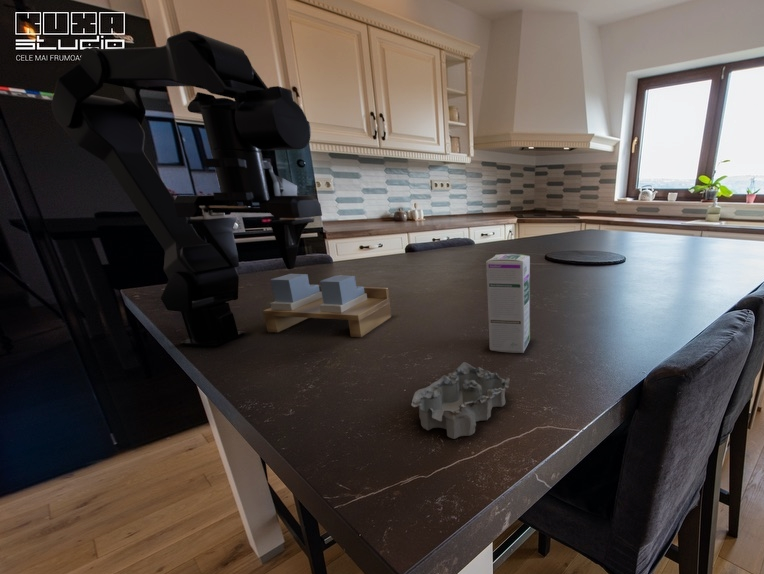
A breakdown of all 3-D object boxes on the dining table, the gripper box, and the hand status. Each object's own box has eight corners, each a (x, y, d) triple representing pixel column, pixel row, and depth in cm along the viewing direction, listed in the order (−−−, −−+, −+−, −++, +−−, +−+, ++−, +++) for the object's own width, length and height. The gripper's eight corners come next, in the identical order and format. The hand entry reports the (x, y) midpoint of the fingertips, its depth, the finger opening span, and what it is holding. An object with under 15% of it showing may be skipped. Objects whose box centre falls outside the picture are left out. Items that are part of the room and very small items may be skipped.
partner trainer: (291, 310, 69) (285, 281, 68) (271, 309, 70) (264, 280, 68) (323, 297, 78) (318, 271, 76) (304, 296, 78) (299, 270, 77)
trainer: (341, 312, 68) (336, 283, 66) (320, 311, 69) (314, 282, 67) (367, 299, 77) (363, 272, 75) (348, 298, 77) (344, 272, 75)
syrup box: (524, 354, 61) (525, 260, 56) (487, 351, 62) (485, 258, 57) (530, 341, 67) (531, 254, 61) (496, 338, 68) (494, 253, 62)
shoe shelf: (267, 332, 71) (260, 299, 69) (309, 312, 82) (304, 284, 80) (361, 337, 68) (356, 303, 66) (391, 316, 79) (388, 287, 77)
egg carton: (461, 446, 39) (459, 410, 38) (406, 424, 43) (403, 391, 41) (515, 399, 48) (515, 369, 46) (466, 385, 51) (464, 356, 50)
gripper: (334, 155, 59) (350, 260, 65) (224, 157, 62) (248, 258, 67) (283, 148, 49) (307, 274, 54) (154, 150, 51) (189, 270, 57)
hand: (262, 268), depth 59 cm, fingers open, 9 cm apart
